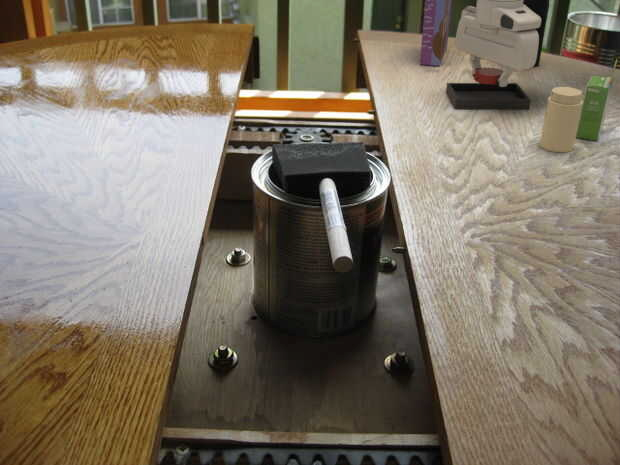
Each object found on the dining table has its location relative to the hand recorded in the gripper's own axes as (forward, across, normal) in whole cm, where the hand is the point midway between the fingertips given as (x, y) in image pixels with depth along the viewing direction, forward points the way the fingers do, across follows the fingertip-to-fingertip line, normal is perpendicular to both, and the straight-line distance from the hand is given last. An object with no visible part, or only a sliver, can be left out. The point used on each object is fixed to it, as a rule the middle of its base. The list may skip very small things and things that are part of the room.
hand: (489, 81), depth 137 cm
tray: (+4, 0, 0) cm, 4 cm away
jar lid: (-2, 0, 0) cm, 2 cm away
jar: (+4, +25, -6) cm, 26 cm away
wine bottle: (+4, -17, +28) cm, 34 cm away
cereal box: (+4, -33, +12) cm, 36 cm away
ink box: (+4, +24, +4) cm, 24 cm away
